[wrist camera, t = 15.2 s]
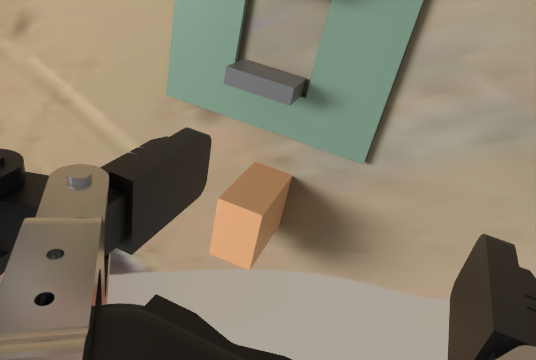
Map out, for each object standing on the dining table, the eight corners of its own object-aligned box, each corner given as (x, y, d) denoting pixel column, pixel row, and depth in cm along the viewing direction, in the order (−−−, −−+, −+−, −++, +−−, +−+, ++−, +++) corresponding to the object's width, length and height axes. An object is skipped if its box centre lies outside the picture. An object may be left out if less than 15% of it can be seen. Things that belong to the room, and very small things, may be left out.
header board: (448, -69, 29) (449, -74, 26) (364, 161, 38) (357, 177, 35) (189, -126, 33) (164, -136, 30) (169, 93, 42) (148, 102, 39)
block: (292, 175, 41) (262, 215, 34) (279, 224, 44) (249, 270, 37) (254, 161, 42) (218, 198, 35) (244, 211, 45) (209, 253, 38)
